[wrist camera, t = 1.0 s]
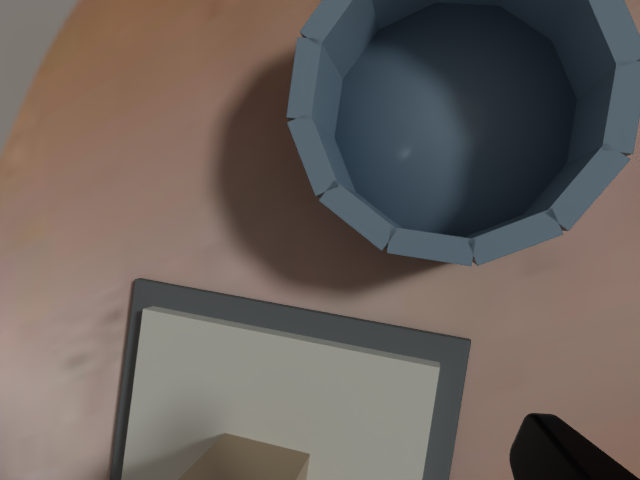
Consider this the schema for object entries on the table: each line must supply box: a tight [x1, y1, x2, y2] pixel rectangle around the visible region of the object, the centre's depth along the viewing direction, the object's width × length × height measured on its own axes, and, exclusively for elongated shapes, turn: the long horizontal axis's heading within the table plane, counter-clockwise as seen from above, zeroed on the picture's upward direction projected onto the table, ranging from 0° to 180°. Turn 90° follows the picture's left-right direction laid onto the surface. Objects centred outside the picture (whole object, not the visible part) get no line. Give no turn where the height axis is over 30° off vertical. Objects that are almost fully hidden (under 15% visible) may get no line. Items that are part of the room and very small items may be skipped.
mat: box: [110, 278, 471, 480], centre depth 21 cm, size 14×14×1 cm
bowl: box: [286, 0, 640, 266], centre depth 17 cm, size 10×10×4 cm
